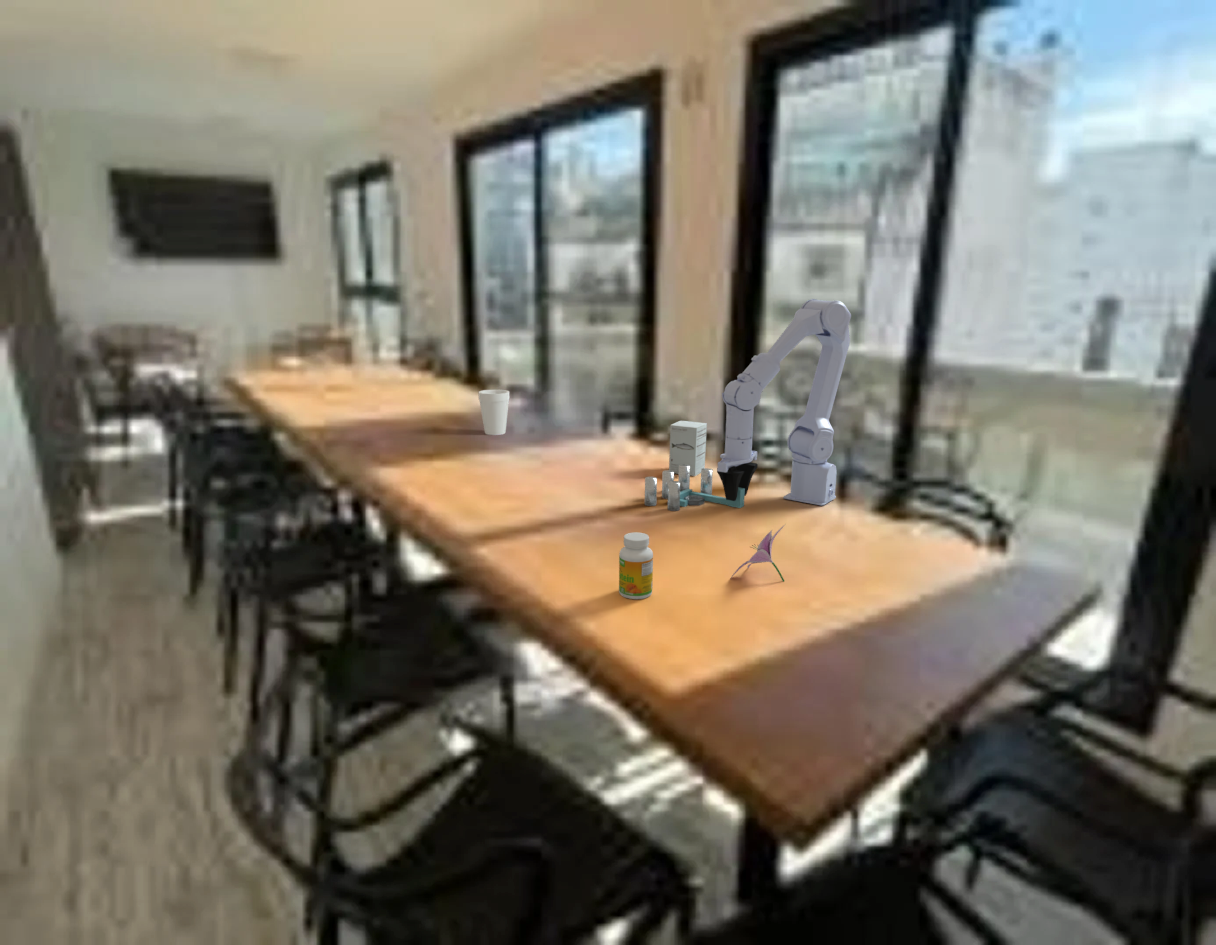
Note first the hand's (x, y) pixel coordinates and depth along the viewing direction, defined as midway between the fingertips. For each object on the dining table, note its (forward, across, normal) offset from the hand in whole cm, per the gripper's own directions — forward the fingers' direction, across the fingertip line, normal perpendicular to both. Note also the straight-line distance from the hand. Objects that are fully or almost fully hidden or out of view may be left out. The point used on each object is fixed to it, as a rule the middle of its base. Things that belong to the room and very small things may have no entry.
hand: (736, 497), depth 175 cm
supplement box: (+2, -19, -24) cm, 31 cm away
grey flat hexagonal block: (+2, +4, -8) cm, 9 cm away
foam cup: (+2, -24, -97) cm, 100 cm away
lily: (+2, +34, +23) cm, 41 cm away
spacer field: (+2, +4, -12) cm, 13 cm away
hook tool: (+2, +3, -6) cm, 7 cm away
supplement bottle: (+2, +53, +10) cm, 54 cm away
